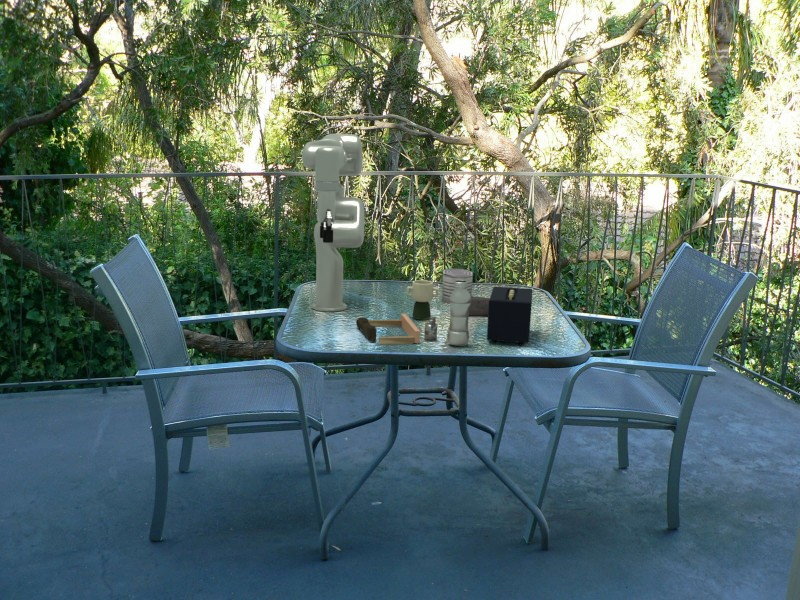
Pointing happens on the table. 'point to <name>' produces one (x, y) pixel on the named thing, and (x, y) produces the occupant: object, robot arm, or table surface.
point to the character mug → (422, 297)
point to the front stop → (410, 328)
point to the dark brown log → (367, 329)
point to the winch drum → (431, 330)
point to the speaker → (509, 315)
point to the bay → (391, 339)
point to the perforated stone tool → (479, 306)
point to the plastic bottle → (459, 314)
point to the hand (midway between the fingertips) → (326, 240)
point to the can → (450, 279)
